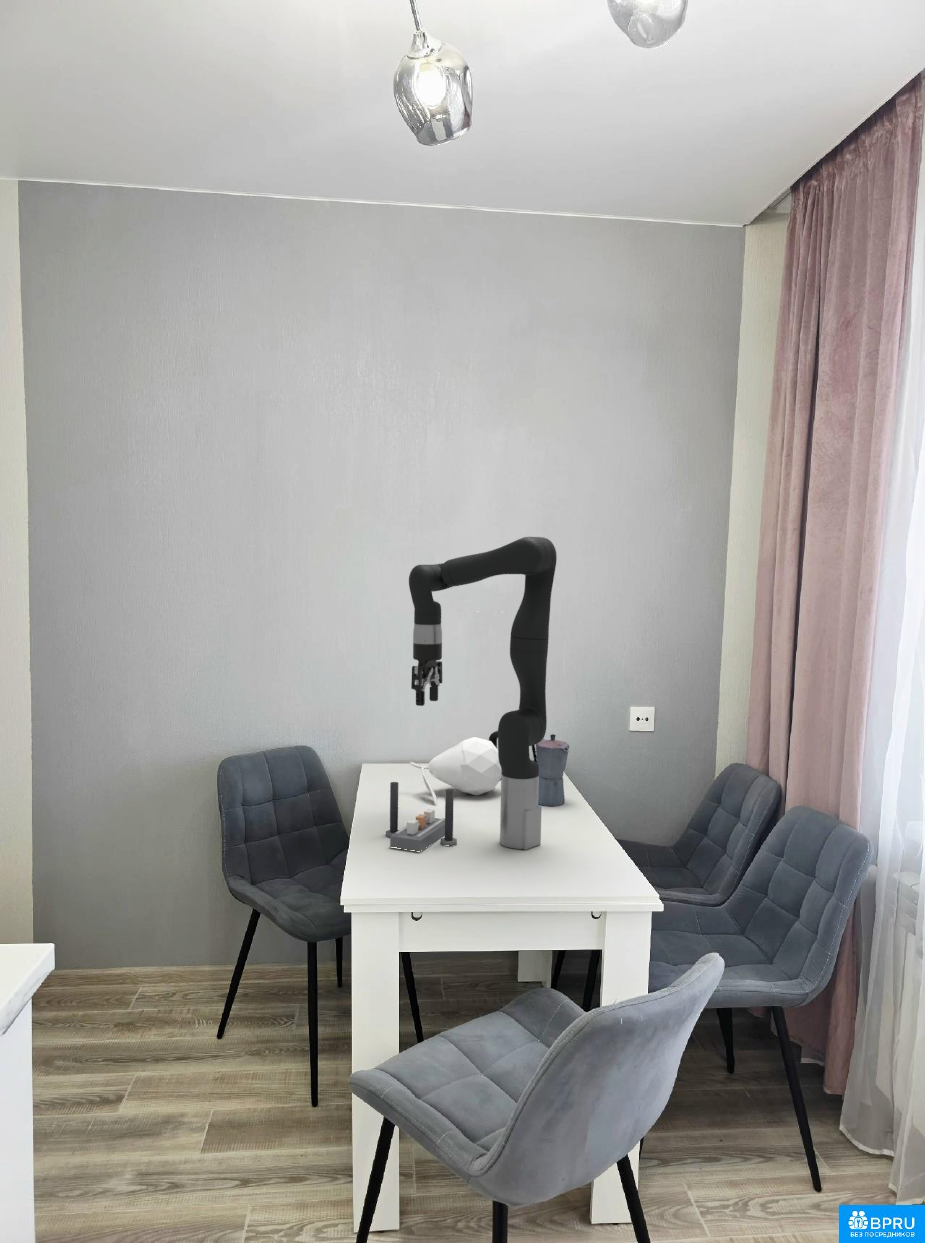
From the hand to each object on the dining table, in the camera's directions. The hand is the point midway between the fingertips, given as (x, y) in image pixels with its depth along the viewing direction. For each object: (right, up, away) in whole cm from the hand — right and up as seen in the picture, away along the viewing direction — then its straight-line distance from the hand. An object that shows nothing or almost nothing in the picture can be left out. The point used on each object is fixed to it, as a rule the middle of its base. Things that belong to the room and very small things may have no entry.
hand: (427, 703), depth 236 cm
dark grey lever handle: (-8, -33, -9) cm, 35 cm away
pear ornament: (+8, -30, +30) cm, 43 cm away
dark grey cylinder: (+6, -33, -15) cm, 37 cm away
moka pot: (+34, -31, +24) cm, 52 cm away
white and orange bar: (-1, -30, -12) cm, 32 cm away
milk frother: (+23, -28, +54) cm, 65 cm away
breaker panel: (-1, -33, -12) cm, 35 cm away
